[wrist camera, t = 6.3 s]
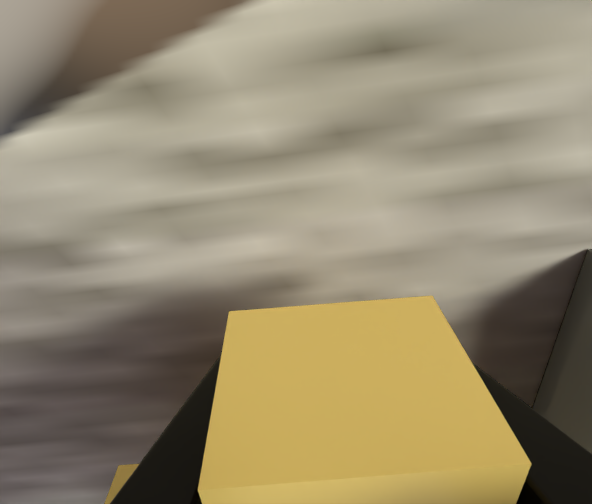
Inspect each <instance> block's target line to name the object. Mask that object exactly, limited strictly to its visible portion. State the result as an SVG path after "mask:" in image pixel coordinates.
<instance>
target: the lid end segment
mask: <svg viewBox="0 0 592 504" xmlns="http://www.w3.org/2000/svg"><path fill="white" fill-rule="evenodd" d="M138 465H139V464H129V465H119V466H118V468H117V471H116V474H115V476H114V479H113V482H112V484H111V487H110V490H109V493H108V495H107V498H106V501H105V503H104V504H110V503H111V501H112V500H113V499H114V497H115V496H116V495H117V493H118V492H119V491H120V489H121V488H122V487H123V485H124V484H125V483H126V481H127V480H128V479H129V477H130V476H131V475H132V473H133V472H134V471H135V469H136V468H137V467H138ZM530 467H531V462H530V460H529V458H528V457H527V455H526V453H525V452H524V450H523V448H522V447H521V445H520V443H519V442H518V440H517V438H516V436H515V435H514V433H513V431H512V430H511V428H510V426H509V425H508V423H507V421H506V420H505V418H504V416H503V415H502V413H501V411H500V409H499V408H498V406H497V404H496V403H495V401H494V399H493V398H492V396H491V394H490V393H489V391H488V389H487V387H486V386H485V384H484V382H483V381H482V379H481V377H480V376H479V374H478V372H477V371H476V369H475V367H474V365H473V364H472V362H471V360H470V359H469V357H468V355H467V354H466V352H465V350H464V349H463V347H462V345H461V343H460V342H459V340H458V338H457V337H456V335H455V333H454V332H453V330H452V328H451V327H450V325H449V323H448V321H447V320H446V318H445V316H444V315H443V313H442V311H441V310H440V308H439V306H438V305H437V303H436V301H435V299H434V298H433V296H421V297H408V298H395V299H382V300H369V301H356V302H343V303H330V304H317V305H304V306H292V307H279V308H266V309H253V310H240V311H229V314H228V320H227V326H226V332H225V337H224V343H223V349H222V354H221V360H220V366H219V372H218V377H217V383H216V389H215V394H214V400H213V406H212V412H211V417H210V423H209V429H208V434H207V440H206V446H205V452H204V457H203V463H202V469H201V474H200V480H199V486H198V493H199V496H200V499H201V502H202V504H516V503H517V500H518V498H519V495H520V492H521V490H522V487H523V485H524V482H525V480H526V477H527V474H528V472H529V469H530Z"/></svg>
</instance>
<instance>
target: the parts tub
mask: <svg viewBox="0 0 592 504" xmlns="http://www.w3.org/2000/svg"><path fill="white" fill-rule="evenodd" d="M532 409H534V410H535V411H536V412H538V413H539V414H540V415H542V416H543V417H544V418H546V419H547V420H548V421H550V422H551V423H552V424H553V425H555V426H556V427H557V428H559V429H560V430H561V431H563V432H564V433H565V434H567V435H568V436H569V437H571V438H572V439H573V440H575V441H576V442H577V443H578V444H580V445H581V446H582V447H584V448H585V449H586V450H588V451H589V452H590V453H592V249H589V250H588V251H587V253H586V256H585V259H584V262H583V265H582V268H581V271H580V273H579V276H578V279H577V282H576V285H575V288H574V291H573V294H572V296H571V299H570V302H569V305H568V308H567V311H566V314H565V316H564V319H563V322H562V325H561V328H560V331H559V334H558V337H557V339H556V342H555V345H554V348H553V351H552V354H551V357H550V359H549V362H548V365H547V368H546V371H545V374H544V377H543V379H542V382H541V385H540V388H539V391H538V394H537V397H536V400H535V402H534V405H533V408H532Z"/></svg>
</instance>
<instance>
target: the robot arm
mask: <svg viewBox="0 0 592 504" xmlns="http://www.w3.org/2000/svg"><path fill="white" fill-rule="evenodd" d="M220 360H221V356H220V357H219V358H218V360H217V361H216V362H215V364H214V365H213V366H212V368H211V369H210V370H209V372H208V373H207V374H206V376H205V377H204V378H203V380H202V381H201V382H200V384H199V385H198V386H197V388H196V389H195V390H194V392H193V393H192V394H191V396H190V397H189V398H188V400H187V401H186V402H185V404H184V405H183V406H182V408H181V409H180V410H179V412H178V413H177V414H176V416H175V417H174V418H173V420H172V421H171V422H170V424H169V425H168V426H167V428H166V429H165V430H164V432H163V433H162V434H161V436H160V437H159V438H158V440H157V441H156V443H155V444H154V445H153V447H152V448H151V449H150V451H149V452H148V453H147V455H146V456H145V457H144V459H143V460H142V461H141V463H140V464H139V465H138V467H137V468H136V469H135V471H134V472H133V473H132V475H131V476H130V477H129V479H128V480H127V481H126V483H125V484H124V485H123V487H122V488H121V489H120V491H119V492H118V493H117V495H116V496H115V497H114V499H113V500H112V501H111V503H110V504H202V502H201V499H200V496H199V493H198V486H199V480H200V474H201V469H202V463H203V457H204V452H205V446H206V440H207V434H208V429H209V423H210V417H211V412H212V406H213V400H214V394H215V389H216V383H217V377H218V372H219V366H220ZM472 364H473V363H472ZM473 365H474V367H475V369H476V371H477V372H478V374H479V376H480V377H481V379H482V381H483V382H484V384H485V386H486V387H487V389H488V391H489V393H490V394H491V396H492V398H493V399H494V401H495V403H496V404H497V406H498V408H499V409H500V411H501V413H502V415H503V416H504V418H505V420H506V421H507V423H508V425H509V426H510V428H511V430H512V431H513V433H514V435H515V436H516V438H517V440H518V442H519V443H520V445H521V447H522V448H523V450H524V452H525V453H526V455H527V457H528V458H529V460H530V462H531V467H530V469H529V472H528V474H527V477H526V480H525V482H524V485H523V487H522V490H521V492H520V495H519V498H518V500H517V503H516V504H592V453H590V452H589V451H588V450H586V449H585V448H584V447H582V446H581V445H580V444H578V443H577V442H576V441H575V440H573V439H572V438H571V437H569V436H568V435H567V434H565V433H564V432H563V431H561V430H560V429H559V428H557V427H556V426H555V425H553V424H552V423H551V422H550V421H548V420H547V419H546V418H544V417H543V416H542V415H540V414H539V413H538V412H536V411H535V410H534V409H532V408H531V407H530V406H529V405H527V404H526V403H525V402H523V401H522V400H521V399H519V398H518V397H517V396H515V395H514V394H513V393H511V392H510V391H509V390H507V389H506V388H505V387H504V386H502V385H501V384H500V383H498V382H497V381H496V380H494V379H493V378H492V377H490V376H489V375H488V374H486V373H485V372H484V371H483V370H481V369H480V368H479V367H477V366H476V365H475V364H473Z"/></svg>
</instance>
